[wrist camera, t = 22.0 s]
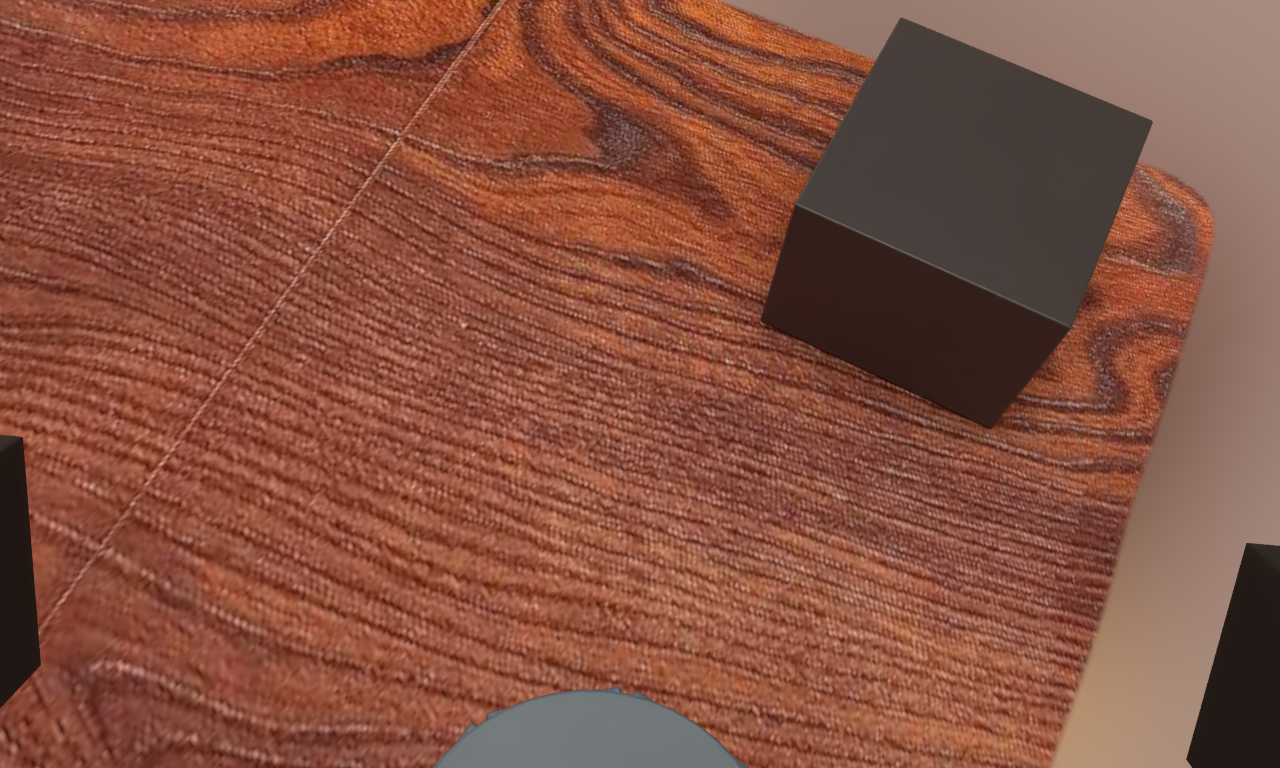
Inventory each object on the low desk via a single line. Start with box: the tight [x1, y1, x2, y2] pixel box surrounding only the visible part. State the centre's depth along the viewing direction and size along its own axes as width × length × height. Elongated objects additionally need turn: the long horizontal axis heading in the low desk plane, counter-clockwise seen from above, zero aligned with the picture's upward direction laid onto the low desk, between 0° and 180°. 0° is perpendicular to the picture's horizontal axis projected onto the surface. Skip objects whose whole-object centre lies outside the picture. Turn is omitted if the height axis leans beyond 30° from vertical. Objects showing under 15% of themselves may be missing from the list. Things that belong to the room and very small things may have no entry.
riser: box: [761, 18, 1153, 428], centre depth 44 cm, size 10×10×8 cm
